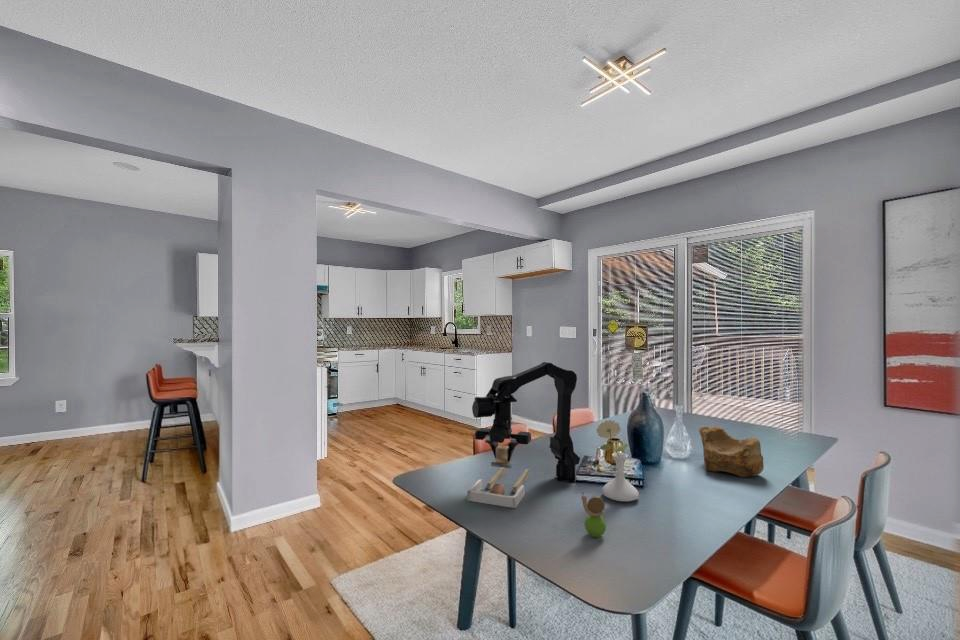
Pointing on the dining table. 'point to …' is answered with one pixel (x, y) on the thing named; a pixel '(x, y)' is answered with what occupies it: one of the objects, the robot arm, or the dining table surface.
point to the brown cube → (500, 487)
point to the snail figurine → (594, 516)
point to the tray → (494, 496)
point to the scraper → (502, 457)
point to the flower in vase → (619, 485)
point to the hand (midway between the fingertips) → (502, 460)
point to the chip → (496, 491)
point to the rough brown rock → (730, 453)
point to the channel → (501, 473)
